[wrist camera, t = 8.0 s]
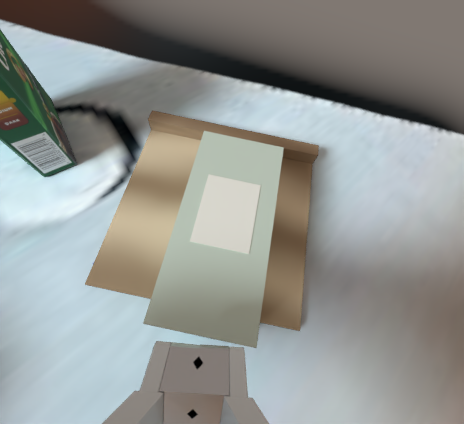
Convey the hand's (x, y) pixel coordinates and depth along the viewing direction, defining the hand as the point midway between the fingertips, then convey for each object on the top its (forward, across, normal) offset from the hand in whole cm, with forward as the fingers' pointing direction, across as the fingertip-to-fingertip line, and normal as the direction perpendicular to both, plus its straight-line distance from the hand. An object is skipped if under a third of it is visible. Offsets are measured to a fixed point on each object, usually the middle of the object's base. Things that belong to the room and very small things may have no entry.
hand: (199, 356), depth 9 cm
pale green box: (+4, 0, -3) cm, 5 cm away
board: (+12, 0, +1) cm, 12 cm away
